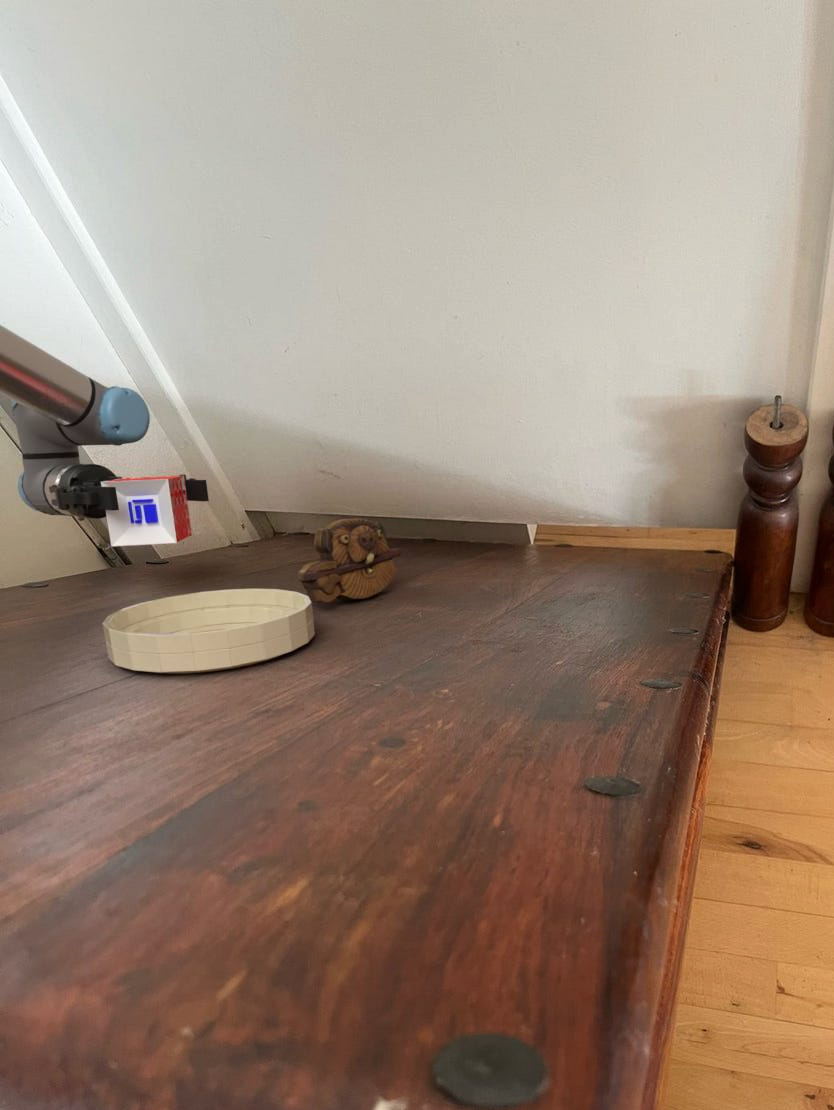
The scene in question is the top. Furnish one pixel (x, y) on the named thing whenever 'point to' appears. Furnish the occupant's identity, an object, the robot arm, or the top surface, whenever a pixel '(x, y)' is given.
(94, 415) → the robot arm
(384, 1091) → the top surface
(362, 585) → the wooden carving
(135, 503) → the red boxy piece
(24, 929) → the top surface
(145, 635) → the bowl
